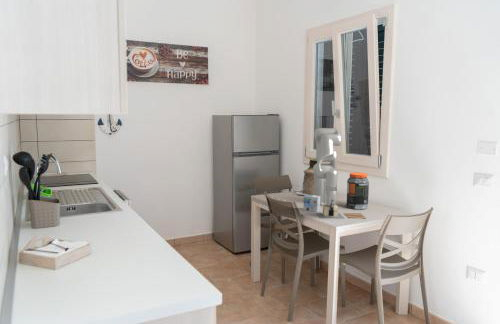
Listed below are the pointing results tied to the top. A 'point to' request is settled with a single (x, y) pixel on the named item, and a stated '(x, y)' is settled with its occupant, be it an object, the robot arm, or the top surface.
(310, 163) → the burlap sack
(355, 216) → the walnut pad
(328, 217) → the mat
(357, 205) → the supplement tub
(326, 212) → the birch block
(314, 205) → the light bulb box
